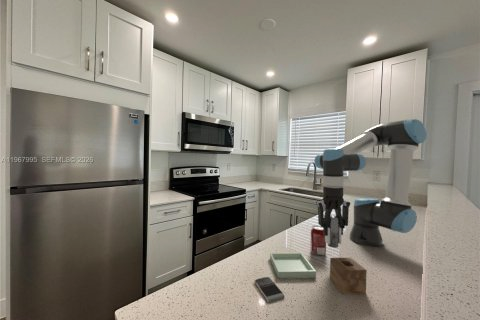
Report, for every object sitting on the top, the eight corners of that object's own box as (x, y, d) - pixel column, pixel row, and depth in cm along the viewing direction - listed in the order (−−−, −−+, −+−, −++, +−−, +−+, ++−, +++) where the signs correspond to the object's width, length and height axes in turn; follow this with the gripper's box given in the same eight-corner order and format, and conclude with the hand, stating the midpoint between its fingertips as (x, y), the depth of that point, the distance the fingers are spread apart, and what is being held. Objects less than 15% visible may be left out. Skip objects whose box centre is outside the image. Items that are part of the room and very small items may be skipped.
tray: (301, 258, 86) (301, 252, 86) (315, 277, 72) (316, 271, 72) (270, 258, 86) (270, 253, 86) (278, 278, 71) (278, 271, 71)
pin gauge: (335, 243, 82) (335, 215, 82) (340, 247, 78) (340, 218, 78) (325, 243, 82) (325, 215, 82) (330, 247, 78) (330, 218, 78)
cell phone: (268, 279, 71) (268, 275, 71) (285, 300, 61) (285, 296, 61) (253, 283, 69) (253, 279, 69) (268, 305, 59) (268, 300, 59)
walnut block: (350, 279, 72) (351, 257, 72) (365, 294, 64) (366, 269, 64) (329, 279, 72) (330, 257, 72) (342, 294, 64) (343, 270, 64)
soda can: (327, 257, 88) (327, 230, 88) (311, 255, 89) (312, 229, 89) (324, 250, 95) (324, 225, 94) (309, 248, 96) (309, 224, 96)
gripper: (347, 184, 84) (347, 238, 84) (309, 185, 83) (309, 239, 83) (359, 187, 76) (358, 246, 77) (317, 188, 75) (317, 247, 76)
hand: (333, 242), depth 80 cm, fingers closed on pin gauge, 4 cm apart
